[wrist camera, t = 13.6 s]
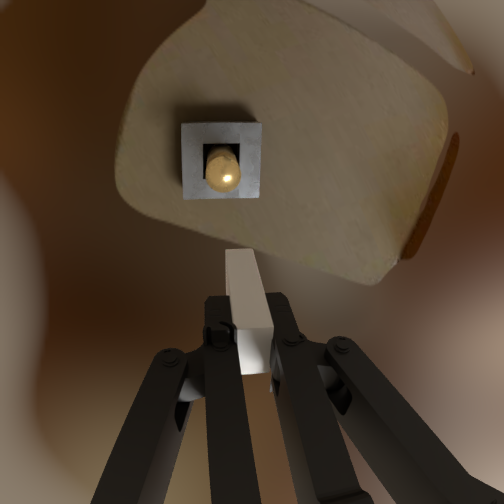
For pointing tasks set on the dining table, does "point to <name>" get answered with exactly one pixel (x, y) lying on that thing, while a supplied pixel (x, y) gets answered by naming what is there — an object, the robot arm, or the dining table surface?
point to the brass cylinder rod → (222, 169)
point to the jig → (220, 132)
